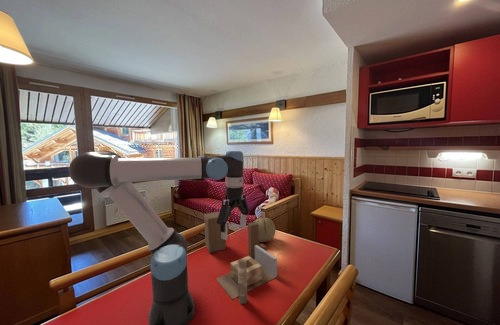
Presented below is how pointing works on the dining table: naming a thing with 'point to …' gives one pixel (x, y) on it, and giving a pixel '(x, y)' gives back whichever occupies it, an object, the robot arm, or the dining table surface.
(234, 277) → the oak block
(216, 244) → the block
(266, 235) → the cantaloupe
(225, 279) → the jig board
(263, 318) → the dining table surface
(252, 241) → the wooden block
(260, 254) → the wall
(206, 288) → the dining table surface
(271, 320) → the dining table surface
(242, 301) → the dowel
